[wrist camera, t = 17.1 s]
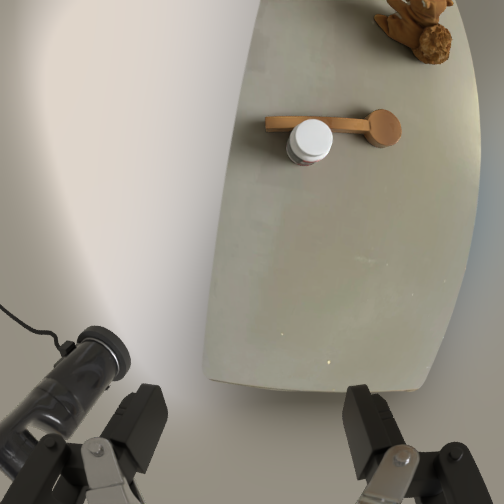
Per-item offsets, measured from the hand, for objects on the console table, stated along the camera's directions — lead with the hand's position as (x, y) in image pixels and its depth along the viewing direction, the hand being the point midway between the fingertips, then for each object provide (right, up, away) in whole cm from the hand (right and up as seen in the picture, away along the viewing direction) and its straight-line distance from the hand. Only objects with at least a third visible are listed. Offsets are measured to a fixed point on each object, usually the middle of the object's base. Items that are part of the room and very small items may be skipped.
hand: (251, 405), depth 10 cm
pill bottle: (+7, +20, +24) cm, 32 cm away
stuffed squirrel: (+26, +41, +18) cm, 52 cm away
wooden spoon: (+11, +23, +23) cm, 34 cm away
